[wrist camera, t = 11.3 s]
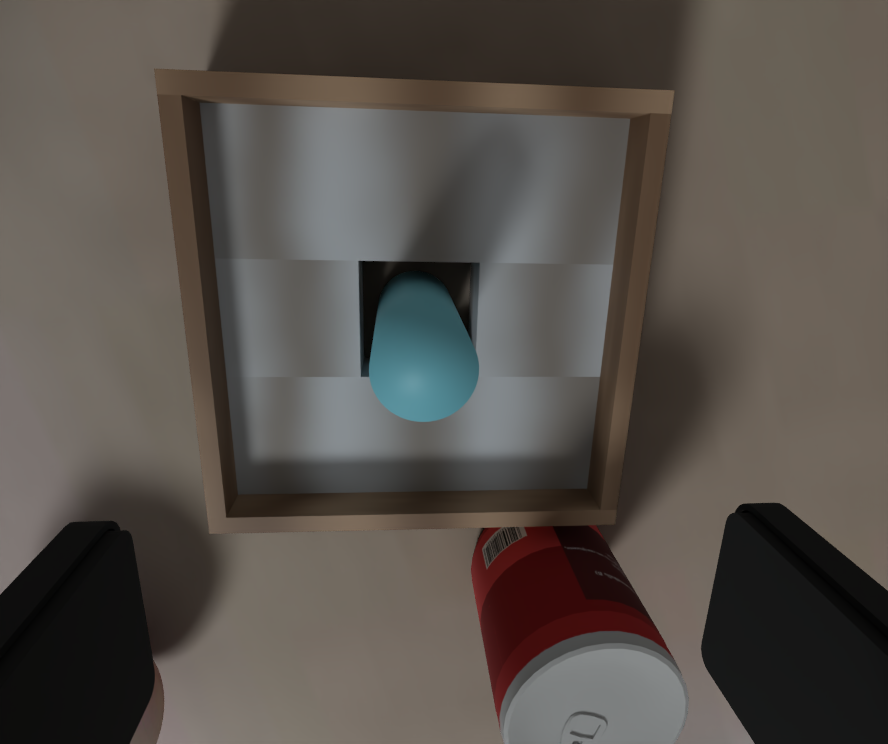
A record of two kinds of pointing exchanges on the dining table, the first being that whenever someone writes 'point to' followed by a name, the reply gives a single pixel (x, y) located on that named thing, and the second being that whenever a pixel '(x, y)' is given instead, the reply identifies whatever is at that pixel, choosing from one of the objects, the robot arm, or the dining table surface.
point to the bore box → (415, 240)
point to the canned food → (571, 642)
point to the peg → (421, 350)
